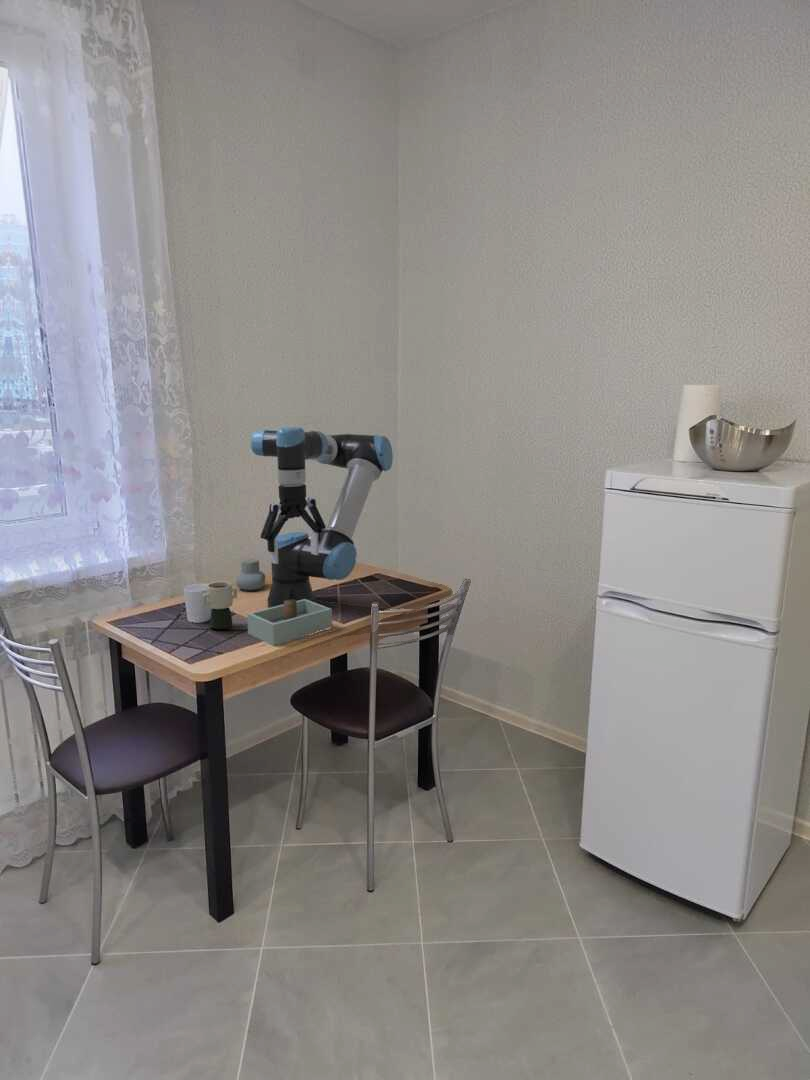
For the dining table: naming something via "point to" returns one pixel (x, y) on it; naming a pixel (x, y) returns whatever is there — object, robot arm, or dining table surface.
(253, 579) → the air freshener
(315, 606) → the box
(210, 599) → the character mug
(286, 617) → the peg
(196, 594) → the white cup
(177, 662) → the dining table surface
